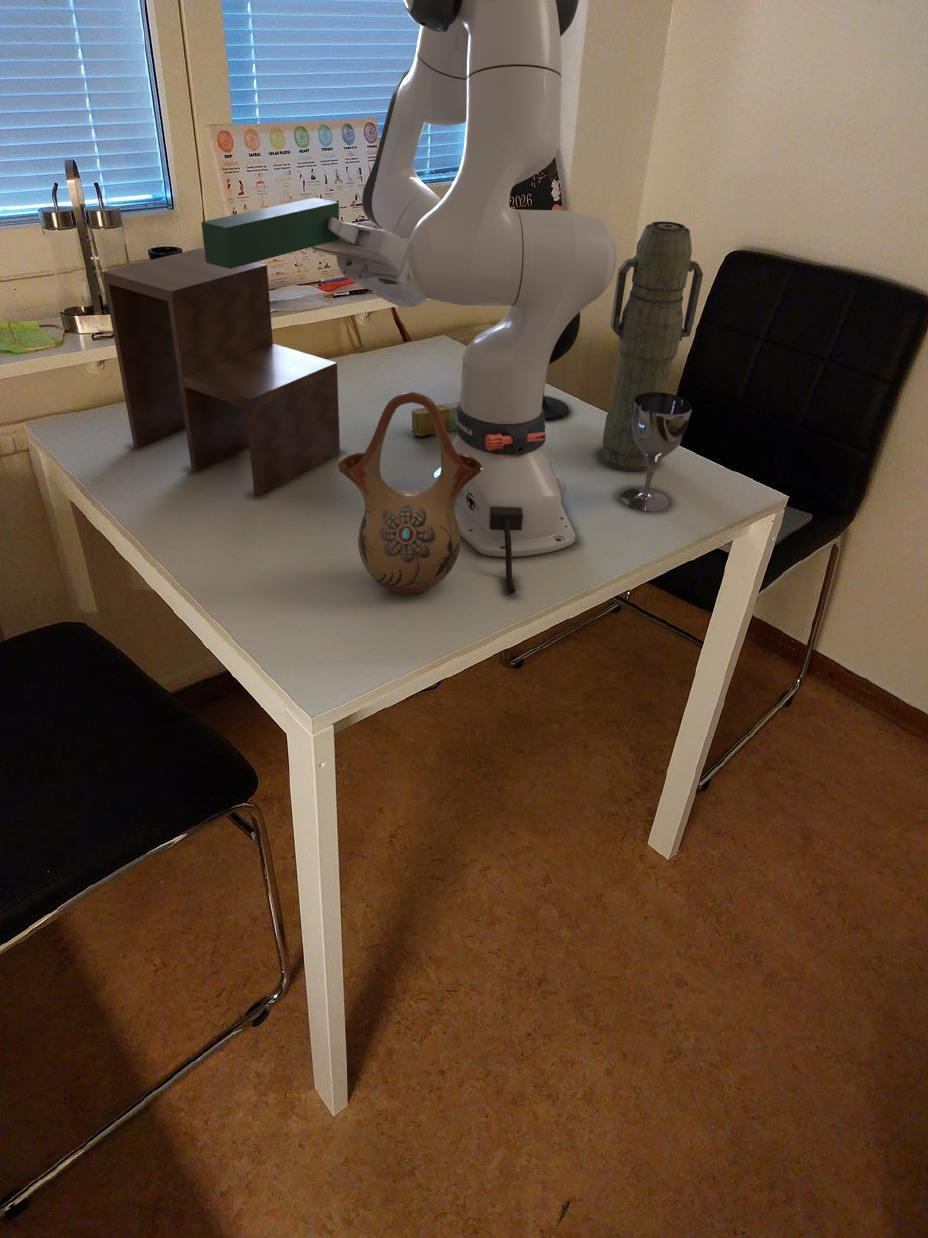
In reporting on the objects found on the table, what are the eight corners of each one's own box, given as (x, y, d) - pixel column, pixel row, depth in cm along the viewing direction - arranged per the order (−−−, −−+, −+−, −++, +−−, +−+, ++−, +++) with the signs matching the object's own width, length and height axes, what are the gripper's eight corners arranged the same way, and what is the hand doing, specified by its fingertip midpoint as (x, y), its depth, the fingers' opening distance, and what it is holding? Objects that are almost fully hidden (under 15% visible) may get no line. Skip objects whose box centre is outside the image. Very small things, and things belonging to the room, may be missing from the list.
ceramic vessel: (471, 565, 115) (483, 377, 100) (478, 606, 107) (492, 409, 93) (342, 566, 113) (335, 375, 98) (340, 608, 106) (333, 407, 91)
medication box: (472, 421, 152) (472, 397, 150) (481, 425, 150) (481, 401, 148) (410, 432, 146) (410, 408, 144) (419, 437, 144) (418, 413, 142)
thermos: (584, 447, 145) (616, 217, 125) (653, 446, 147) (696, 218, 127) (599, 472, 138) (636, 232, 118) (672, 470, 140) (720, 233, 120)
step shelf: (219, 410, 150) (200, 247, 135) (340, 453, 139) (334, 281, 124) (133, 446, 137) (101, 271, 122) (259, 496, 127) (241, 311, 111)
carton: (316, 234, 132) (315, 197, 129) (339, 239, 130) (338, 202, 127) (205, 262, 117) (201, 221, 114) (230, 268, 115) (226, 227, 112)
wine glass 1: (540, 425, 152) (553, 306, 140) (497, 405, 158) (506, 289, 146) (581, 411, 158) (596, 295, 146) (538, 392, 164) (550, 280, 152)
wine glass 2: (608, 489, 134) (624, 394, 125) (656, 484, 136) (674, 390, 127) (632, 515, 128) (650, 416, 119) (681, 509, 130) (703, 412, 121)
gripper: (320, 222, 143) (264, 185, 131) (424, 245, 135) (375, 207, 122) (308, 262, 144) (252, 228, 132) (411, 287, 136) (362, 253, 123)
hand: (312, 218), depth 127 cm, fingers closed on carton, 4 cm apart
